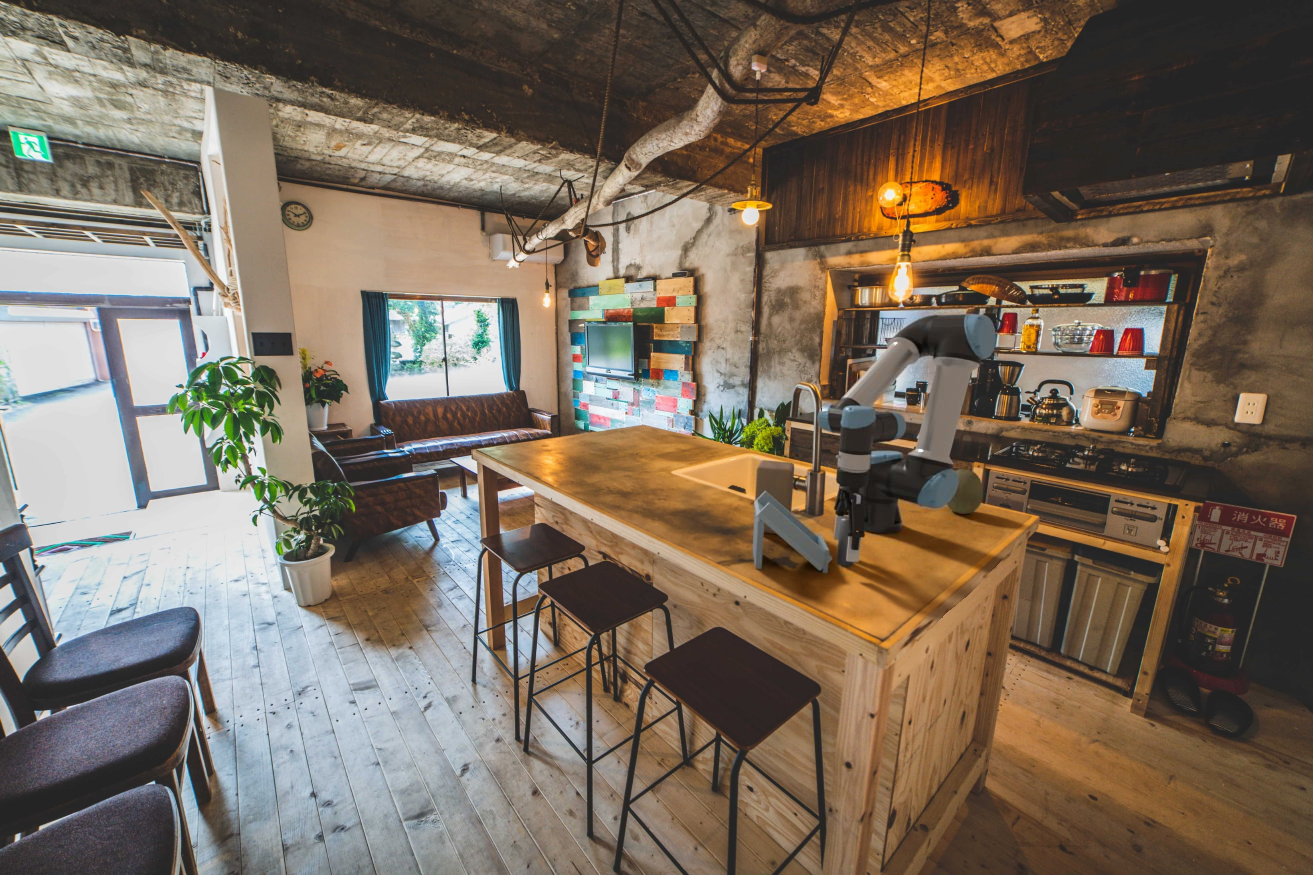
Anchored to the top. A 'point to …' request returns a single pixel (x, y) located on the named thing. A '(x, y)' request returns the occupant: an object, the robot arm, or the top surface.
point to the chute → (787, 533)
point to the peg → (843, 542)
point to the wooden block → (775, 484)
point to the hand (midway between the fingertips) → (845, 549)
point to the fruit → (967, 493)
